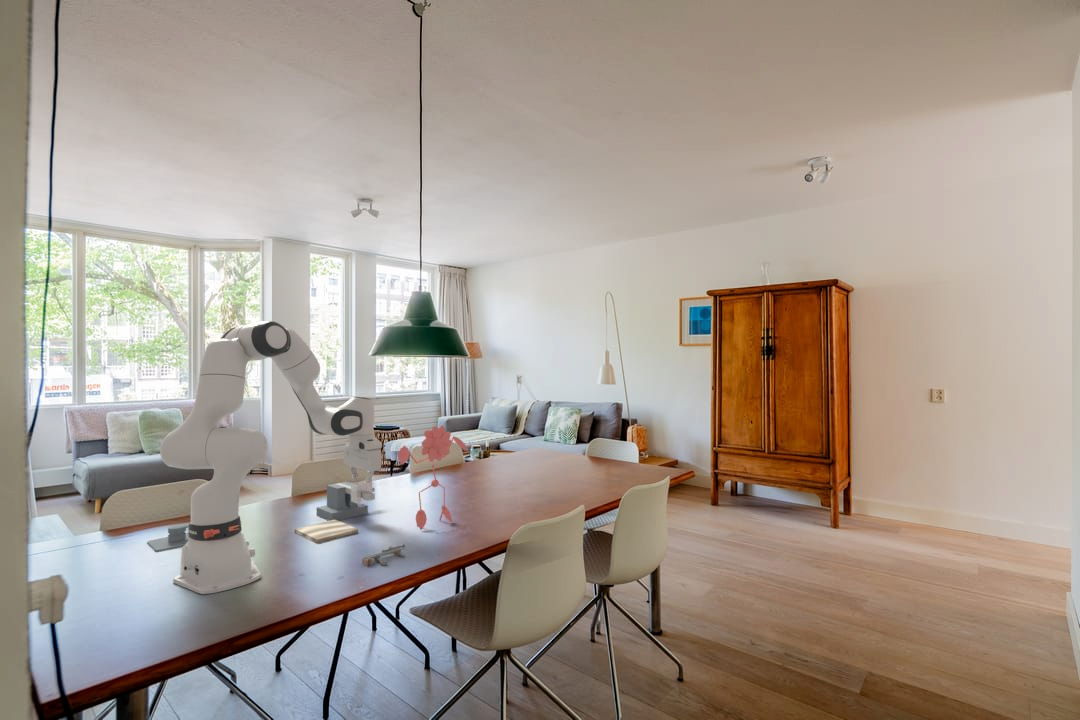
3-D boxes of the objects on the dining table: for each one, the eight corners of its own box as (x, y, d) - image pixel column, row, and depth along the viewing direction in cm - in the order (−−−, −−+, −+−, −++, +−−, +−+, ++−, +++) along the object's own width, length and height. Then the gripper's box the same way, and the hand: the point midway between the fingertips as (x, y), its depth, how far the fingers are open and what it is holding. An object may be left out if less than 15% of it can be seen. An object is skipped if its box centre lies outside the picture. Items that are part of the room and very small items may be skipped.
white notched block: (372, 500, 188) (372, 481, 188) (356, 503, 184) (356, 484, 184) (366, 498, 191) (366, 480, 191) (351, 501, 186) (351, 483, 186)
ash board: (358, 532, 175) (358, 528, 175) (316, 543, 165) (316, 539, 165) (334, 522, 186) (334, 519, 186) (294, 532, 176) (294, 528, 176)
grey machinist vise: (404, 517, 192) (404, 487, 192) (353, 530, 177) (353, 498, 177) (365, 504, 210) (365, 477, 210) (316, 515, 195) (316, 485, 195)
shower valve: (212, 524, 168) (156, 535, 157) (212, 541, 168) (156, 553, 157) (201, 516, 177) (146, 526, 166) (201, 532, 177) (146, 544, 166)
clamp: (371, 563, 144) (355, 553, 151) (370, 571, 144) (355, 561, 151) (420, 550, 154) (403, 541, 161) (420, 557, 154) (403, 548, 161)
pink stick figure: (393, 530, 177) (393, 427, 178) (457, 515, 195) (457, 421, 195) (415, 541, 166) (415, 431, 166) (482, 525, 183) (481, 425, 184)
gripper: (338, 439, 192) (338, 477, 192) (368, 446, 179) (368, 486, 179) (354, 437, 197) (354, 474, 197) (384, 443, 183) (384, 483, 183)
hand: (361, 480), depth 188 cm, fingers open, 8 cm apart
